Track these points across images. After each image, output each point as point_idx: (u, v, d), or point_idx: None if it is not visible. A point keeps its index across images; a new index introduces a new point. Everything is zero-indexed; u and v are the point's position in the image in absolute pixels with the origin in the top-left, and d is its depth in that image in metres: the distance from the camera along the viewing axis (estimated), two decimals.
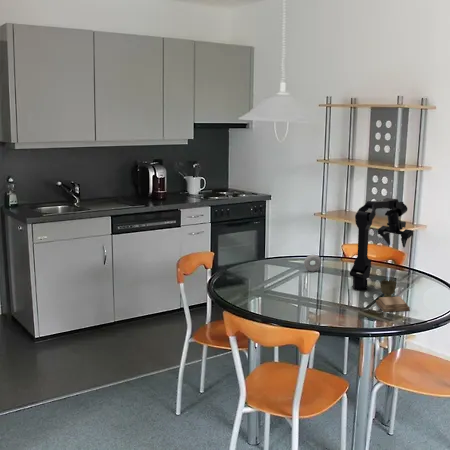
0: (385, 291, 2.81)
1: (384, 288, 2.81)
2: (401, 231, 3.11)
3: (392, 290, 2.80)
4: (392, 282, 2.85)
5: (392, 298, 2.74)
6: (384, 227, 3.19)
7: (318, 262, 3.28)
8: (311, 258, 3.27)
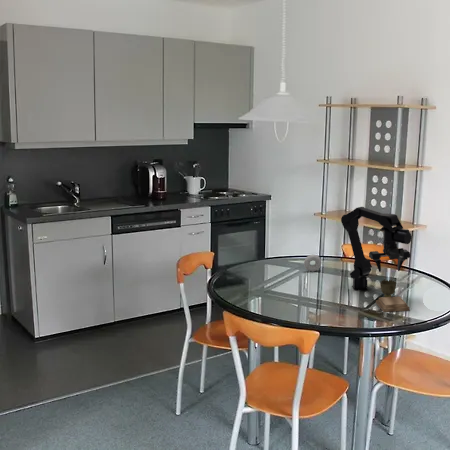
0: (385, 291, 2.81)
1: (384, 288, 2.81)
2: (381, 253, 2.79)
3: (392, 290, 2.80)
4: (392, 282, 2.85)
5: (392, 298, 2.74)
6: None
7: (318, 262, 3.28)
8: (311, 258, 3.27)
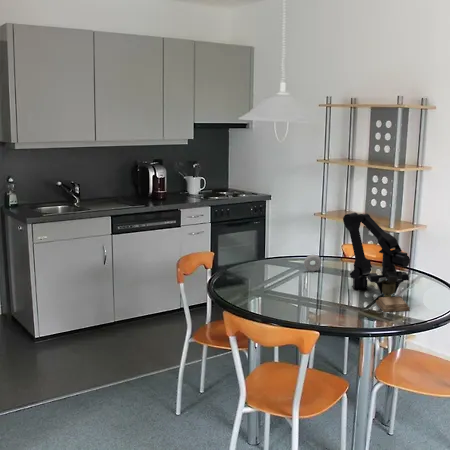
0: (385, 291, 2.81)
1: (384, 288, 2.81)
2: (379, 275, 2.82)
3: (392, 290, 2.80)
4: (392, 282, 2.85)
5: (392, 298, 2.74)
6: (402, 273, 2.81)
7: (318, 262, 3.28)
8: (311, 258, 3.27)
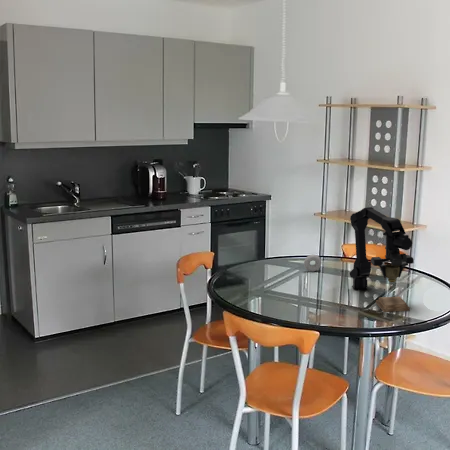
0: (389, 275, 2.71)
1: (388, 272, 2.71)
2: None
3: (396, 274, 2.70)
4: (396, 266, 2.75)
5: (392, 298, 2.74)
6: None
7: (318, 262, 3.28)
8: (311, 258, 3.27)
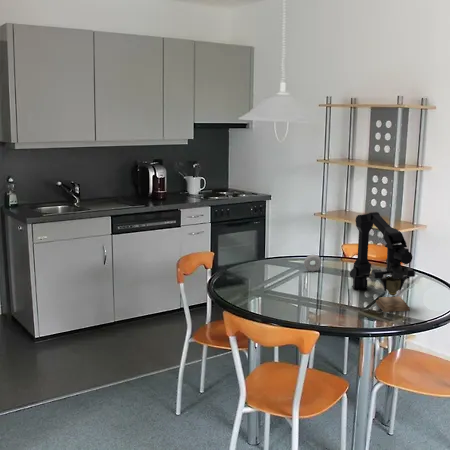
0: (390, 288, 2.67)
1: (389, 285, 2.67)
2: (384, 271, 2.68)
3: (397, 287, 2.66)
4: (397, 278, 2.71)
5: (392, 298, 2.74)
6: (407, 269, 2.67)
7: (318, 262, 3.28)
8: (311, 258, 3.27)
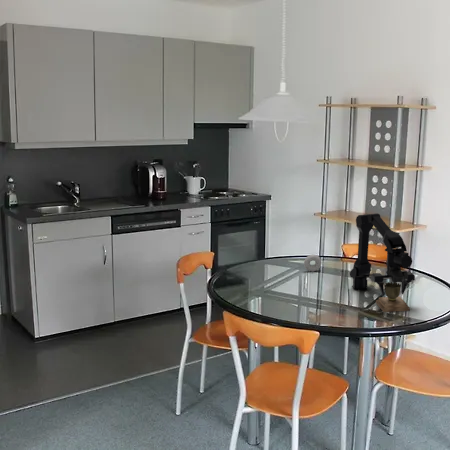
0: (389, 294, 2.68)
1: (388, 291, 2.67)
2: (384, 275, 2.68)
3: (397, 293, 2.67)
4: (397, 285, 2.71)
5: None
6: (407, 273, 2.68)
7: (318, 262, 3.28)
8: (311, 258, 3.27)
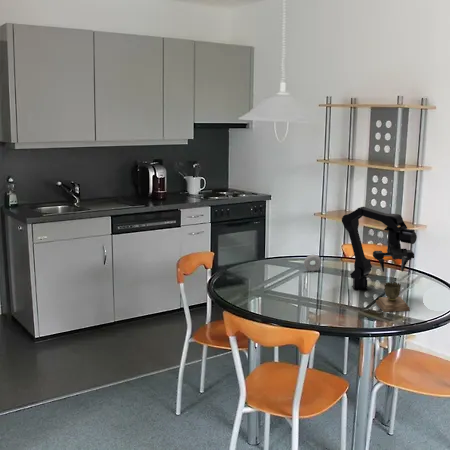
0: (389, 294, 2.68)
1: (388, 291, 2.67)
2: None
3: (397, 293, 2.67)
4: (397, 285, 2.71)
5: None
6: (407, 251, 2.80)
7: (318, 262, 3.28)
8: (311, 258, 3.27)
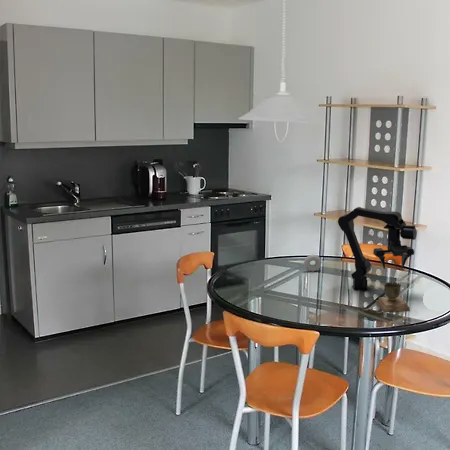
0: (389, 294, 2.68)
1: (388, 291, 2.67)
2: (385, 250, 2.84)
3: (396, 293, 2.67)
4: (396, 285, 2.71)
5: None
6: (407, 248, 2.84)
7: (318, 262, 3.28)
8: (311, 258, 3.27)
